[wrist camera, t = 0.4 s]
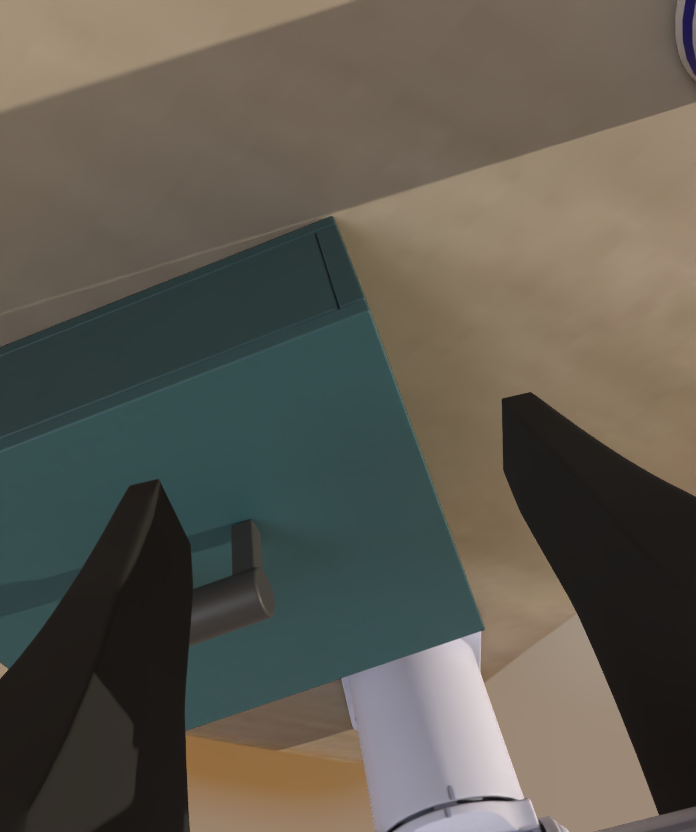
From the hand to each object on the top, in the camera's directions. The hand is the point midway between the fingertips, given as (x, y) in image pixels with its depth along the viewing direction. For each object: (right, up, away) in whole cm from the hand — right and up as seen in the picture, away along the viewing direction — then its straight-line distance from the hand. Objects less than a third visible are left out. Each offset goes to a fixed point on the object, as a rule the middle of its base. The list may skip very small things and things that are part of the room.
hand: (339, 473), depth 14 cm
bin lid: (-4, -4, +8) cm, 10 cm away
